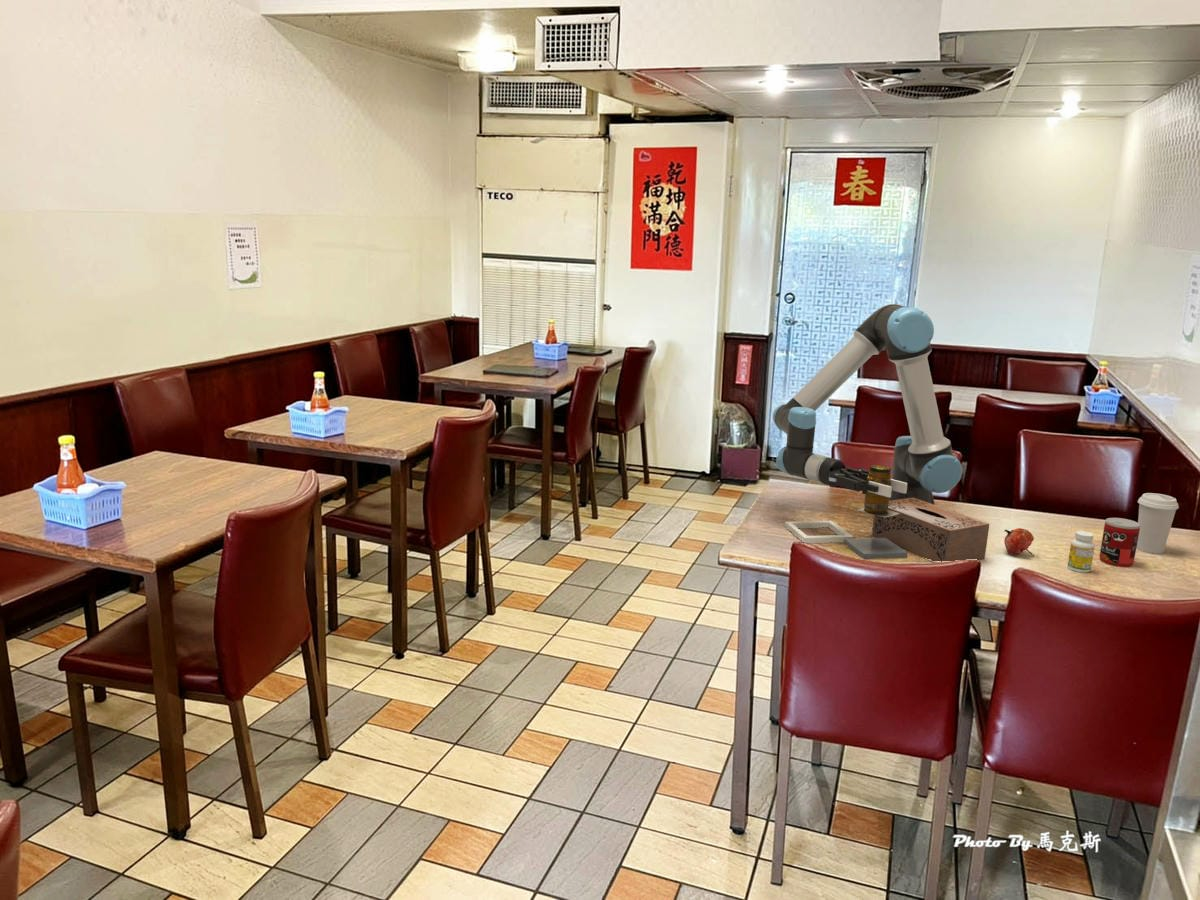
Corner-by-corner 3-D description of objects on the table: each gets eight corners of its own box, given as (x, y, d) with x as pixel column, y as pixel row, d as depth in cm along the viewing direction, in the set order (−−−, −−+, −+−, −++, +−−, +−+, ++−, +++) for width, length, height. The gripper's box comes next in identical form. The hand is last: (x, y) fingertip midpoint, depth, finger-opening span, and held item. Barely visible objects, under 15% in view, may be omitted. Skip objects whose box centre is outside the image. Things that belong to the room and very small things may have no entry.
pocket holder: (831, 525, 259) (831, 520, 259) (852, 542, 246) (853, 536, 245) (784, 527, 257) (785, 521, 256) (803, 543, 243) (804, 537, 243)
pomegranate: (1026, 558, 244) (997, 532, 246) (1047, 542, 240) (1017, 515, 242) (1022, 569, 238) (992, 542, 240) (1043, 553, 234) (1013, 525, 236)
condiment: (872, 506, 243) (877, 462, 240) (900, 514, 236) (905, 469, 233) (856, 510, 238) (860, 466, 235) (883, 518, 232) (888, 473, 229)
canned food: (1092, 556, 240) (1099, 517, 238) (1120, 556, 241) (1127, 517, 238) (1110, 567, 233) (1117, 526, 230) (1139, 567, 234) (1147, 526, 231)
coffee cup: (1170, 558, 241) (1180, 504, 238) (1128, 550, 246) (1138, 497, 243) (1170, 548, 249) (1180, 496, 246) (1130, 541, 254) (1139, 490, 251)
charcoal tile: (884, 542, 246) (885, 537, 246) (906, 557, 235) (907, 552, 235) (843, 543, 244) (844, 538, 244) (863, 559, 233) (864, 554, 232)
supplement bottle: (1089, 574, 227) (1095, 538, 225) (1066, 570, 230) (1071, 534, 228) (1091, 568, 232) (1097, 532, 229) (1068, 563, 234) (1073, 528, 232)
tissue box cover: (871, 537, 251) (875, 503, 249) (909, 531, 258) (913, 497, 255) (945, 568, 229) (950, 530, 227) (984, 560, 236) (989, 523, 233)
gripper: (846, 478, 256) (918, 498, 238) (802, 488, 244) (874, 510, 227) (848, 453, 254) (921, 471, 236) (804, 461, 243) (877, 481, 225)
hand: (898, 490), depth 232 cm, fingers closed on condiment, 6 cm apart
